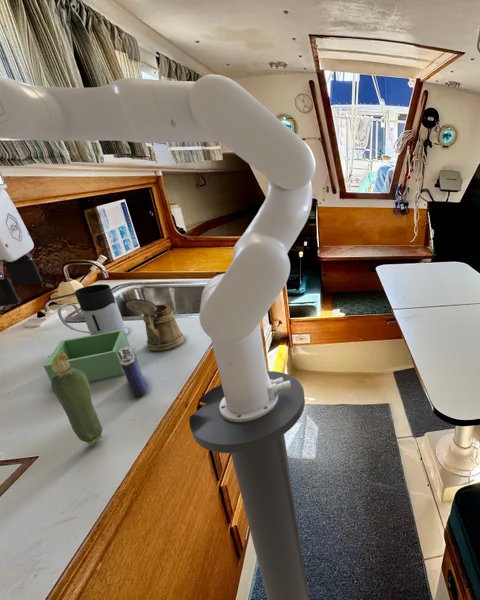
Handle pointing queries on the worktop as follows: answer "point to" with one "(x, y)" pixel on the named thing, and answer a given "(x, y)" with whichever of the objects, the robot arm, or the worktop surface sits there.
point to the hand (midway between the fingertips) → (17, 293)
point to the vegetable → (76, 399)
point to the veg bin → (92, 355)
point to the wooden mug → (158, 324)
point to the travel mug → (97, 310)
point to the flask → (133, 372)
